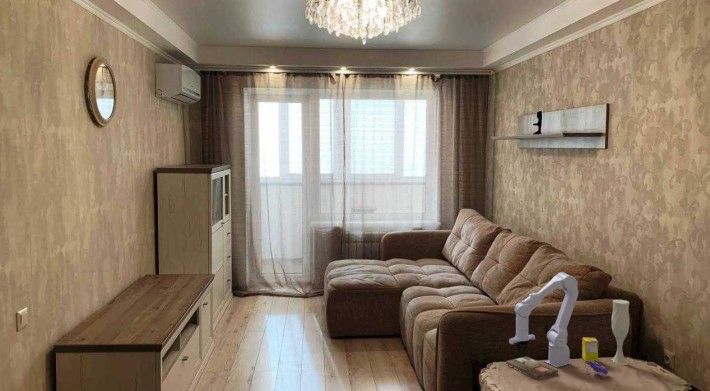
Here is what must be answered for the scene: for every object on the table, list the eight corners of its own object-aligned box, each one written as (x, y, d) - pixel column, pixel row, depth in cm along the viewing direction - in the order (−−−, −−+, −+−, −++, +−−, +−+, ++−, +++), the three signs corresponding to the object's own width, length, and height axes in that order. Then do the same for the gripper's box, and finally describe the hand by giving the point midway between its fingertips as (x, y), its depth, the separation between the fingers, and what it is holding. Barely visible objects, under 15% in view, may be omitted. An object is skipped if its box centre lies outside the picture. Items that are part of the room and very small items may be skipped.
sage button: (521, 362, 275) (522, 357, 275) (528, 365, 272) (528, 360, 271) (515, 364, 274) (515, 359, 273) (521, 367, 270) (521, 362, 269)
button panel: (526, 360, 279) (526, 356, 278) (557, 374, 261) (558, 370, 261) (506, 365, 273) (506, 361, 273) (536, 379, 255) (536, 375, 255)
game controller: (614, 366, 260) (607, 368, 252) (607, 382, 261) (600, 385, 253) (593, 355, 266) (586, 356, 259) (586, 370, 267) (579, 372, 260)
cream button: (531, 364, 270) (531, 359, 269) (538, 367, 266) (538, 362, 265) (524, 366, 268) (524, 361, 267) (531, 369, 264) (531, 364, 264)
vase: (632, 365, 270) (634, 304, 268) (614, 365, 271) (616, 304, 268) (623, 359, 279) (625, 299, 277) (606, 359, 279) (608, 299, 277)
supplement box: (594, 359, 280) (594, 337, 279) (598, 363, 274) (598, 341, 273) (581, 358, 280) (582, 337, 280) (585, 363, 274) (585, 341, 274)
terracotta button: (541, 371, 264) (541, 366, 264) (548, 375, 260) (549, 369, 260) (534, 373, 262) (534, 368, 262) (541, 376, 258) (541, 371, 258)
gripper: (527, 323, 278) (527, 350, 279) (504, 328, 271) (504, 356, 273) (538, 327, 272) (537, 355, 273) (515, 332, 265) (514, 360, 266)
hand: (522, 356), depth 272 cm, fingers closed
